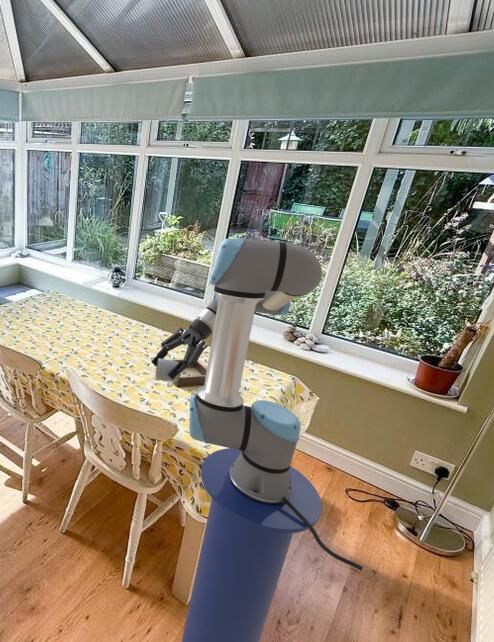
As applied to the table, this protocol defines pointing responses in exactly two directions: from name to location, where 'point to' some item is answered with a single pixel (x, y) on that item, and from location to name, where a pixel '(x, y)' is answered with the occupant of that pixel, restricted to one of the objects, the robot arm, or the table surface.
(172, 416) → the table surface
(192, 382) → the walnut holder
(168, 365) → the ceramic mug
